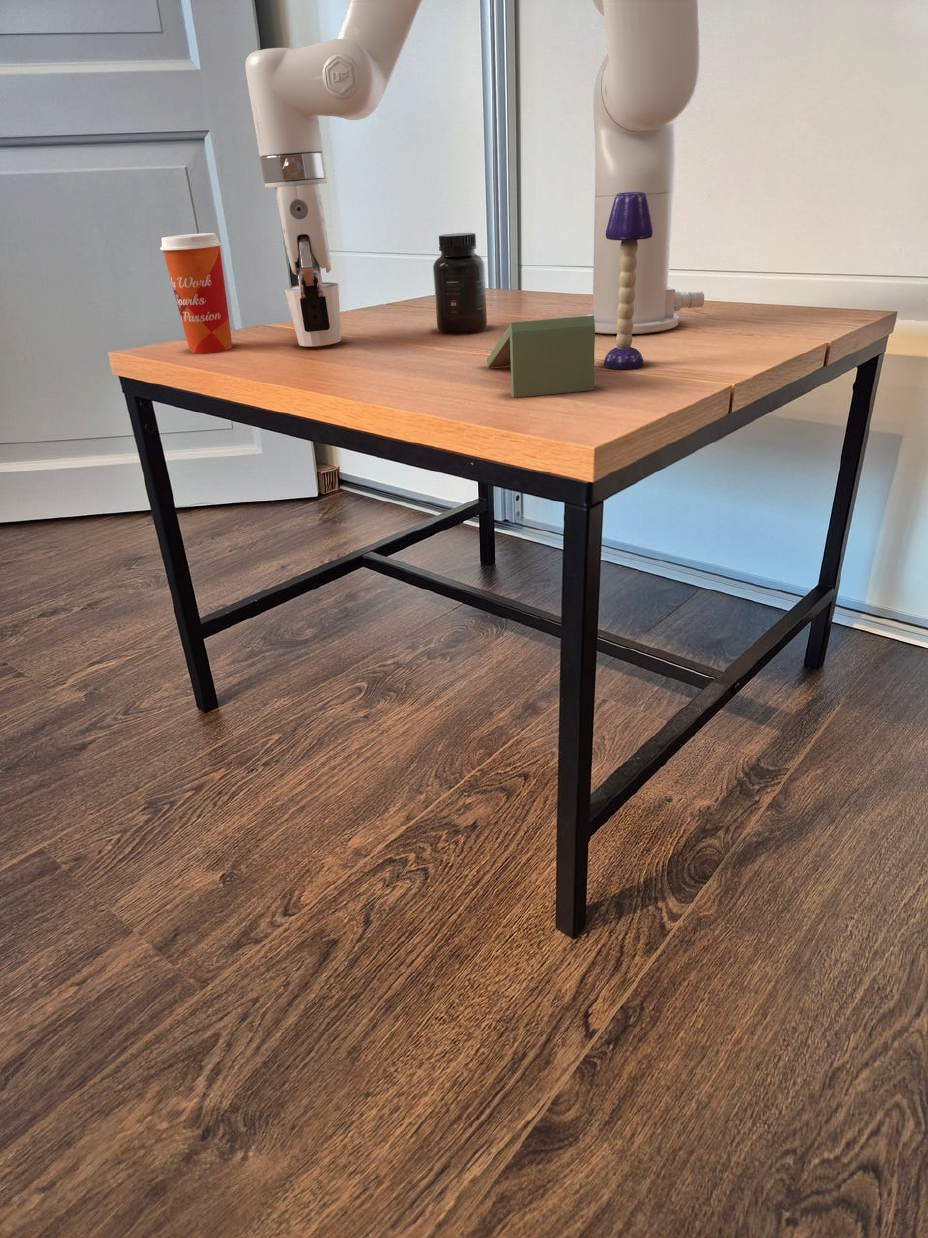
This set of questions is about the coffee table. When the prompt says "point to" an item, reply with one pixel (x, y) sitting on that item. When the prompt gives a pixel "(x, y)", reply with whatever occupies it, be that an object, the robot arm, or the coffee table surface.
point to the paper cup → (199, 290)
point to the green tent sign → (548, 355)
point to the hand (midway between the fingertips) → (317, 324)
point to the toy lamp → (627, 271)
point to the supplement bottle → (459, 285)
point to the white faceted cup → (333, 314)
